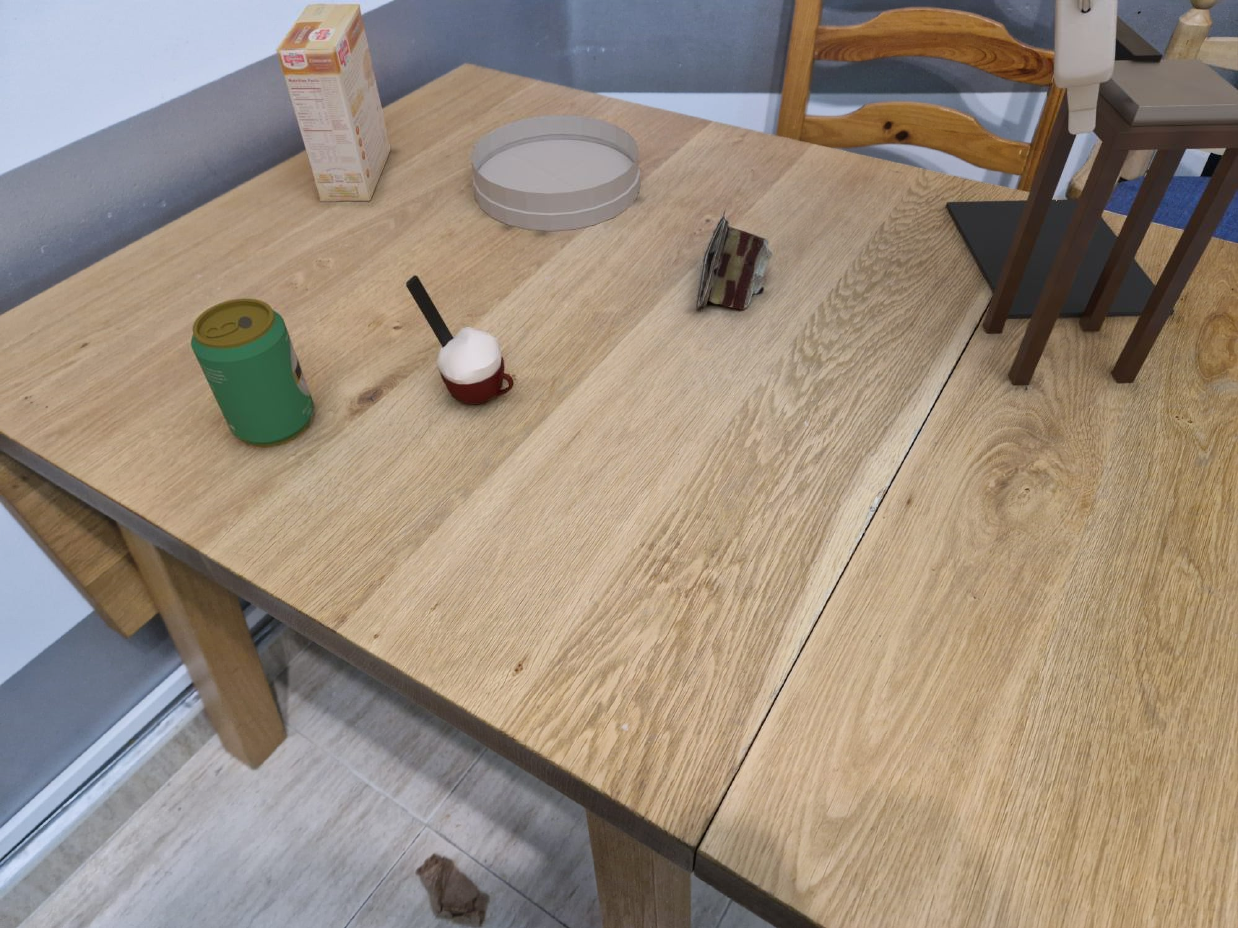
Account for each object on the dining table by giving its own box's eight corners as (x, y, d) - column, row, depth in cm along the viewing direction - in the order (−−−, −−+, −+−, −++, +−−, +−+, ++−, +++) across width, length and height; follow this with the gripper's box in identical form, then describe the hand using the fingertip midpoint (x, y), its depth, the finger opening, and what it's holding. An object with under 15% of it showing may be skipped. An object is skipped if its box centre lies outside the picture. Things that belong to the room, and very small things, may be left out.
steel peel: (1144, 38, 81) (1153, 15, 79) (1244, 124, 68) (1258, 98, 67) (1048, 40, 81) (1055, 17, 79) (1130, 126, 68) (1141, 101, 67)
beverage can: (326, 431, 83) (290, 331, 74) (242, 461, 80) (194, 360, 72) (304, 384, 88) (268, 285, 79) (224, 411, 85) (177, 311, 76)
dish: (674, 187, 115) (675, 151, 111) (547, 251, 104) (544, 214, 101) (565, 134, 126) (563, 100, 123) (441, 187, 116) (435, 151, 112)
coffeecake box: (343, 149, 124) (306, 3, 110) (393, 149, 124) (362, 2, 110) (317, 202, 113) (272, 48, 99) (371, 202, 113) (334, 47, 99)
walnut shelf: (1093, 322, 93) (1208, 77, 74) (1133, 382, 86) (1270, 129, 67) (982, 324, 93) (1068, 80, 74) (1013, 385, 86) (1117, 132, 67)
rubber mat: (1086, 203, 110) (1087, 199, 110) (1172, 315, 94) (1174, 310, 93) (945, 206, 110) (946, 201, 110) (1006, 318, 94) (1008, 314, 93)
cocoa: (526, 400, 86) (514, 299, 77) (473, 428, 83) (455, 328, 74) (473, 355, 91) (456, 256, 82) (422, 380, 88) (398, 281, 79)
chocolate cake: (758, 327, 94) (792, 221, 93) (697, 307, 93) (731, 200, 93) (739, 334, 103) (770, 237, 103) (684, 316, 103) (715, 218, 102)
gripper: (1147, -77, 52) (1132, 152, 59) (1135, -106, 67) (1124, 80, 74) (1032, -52, 55) (1031, 164, 62) (1045, -85, 70) (1043, 93, 77)
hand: (1082, 118), depth 68 cm, fingers open, 6 cm apart
